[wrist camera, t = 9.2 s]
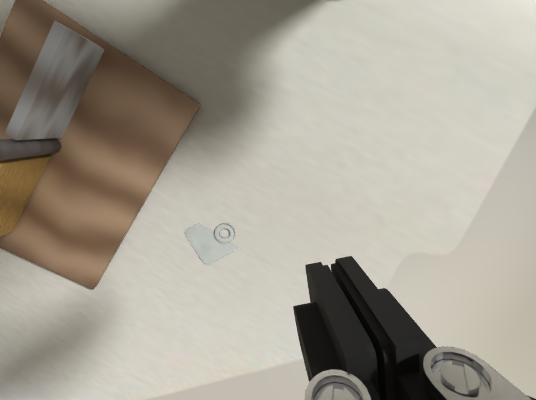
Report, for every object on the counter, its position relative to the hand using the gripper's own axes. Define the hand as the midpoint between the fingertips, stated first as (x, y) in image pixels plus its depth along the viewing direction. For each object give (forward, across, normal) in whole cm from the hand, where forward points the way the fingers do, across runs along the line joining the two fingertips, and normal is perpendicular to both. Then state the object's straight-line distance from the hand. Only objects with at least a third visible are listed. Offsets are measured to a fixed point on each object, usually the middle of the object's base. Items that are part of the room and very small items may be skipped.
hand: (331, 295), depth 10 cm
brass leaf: (+25, +29, -3) cm, 38 cm away
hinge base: (+26, +24, -6) cm, 36 cm away
